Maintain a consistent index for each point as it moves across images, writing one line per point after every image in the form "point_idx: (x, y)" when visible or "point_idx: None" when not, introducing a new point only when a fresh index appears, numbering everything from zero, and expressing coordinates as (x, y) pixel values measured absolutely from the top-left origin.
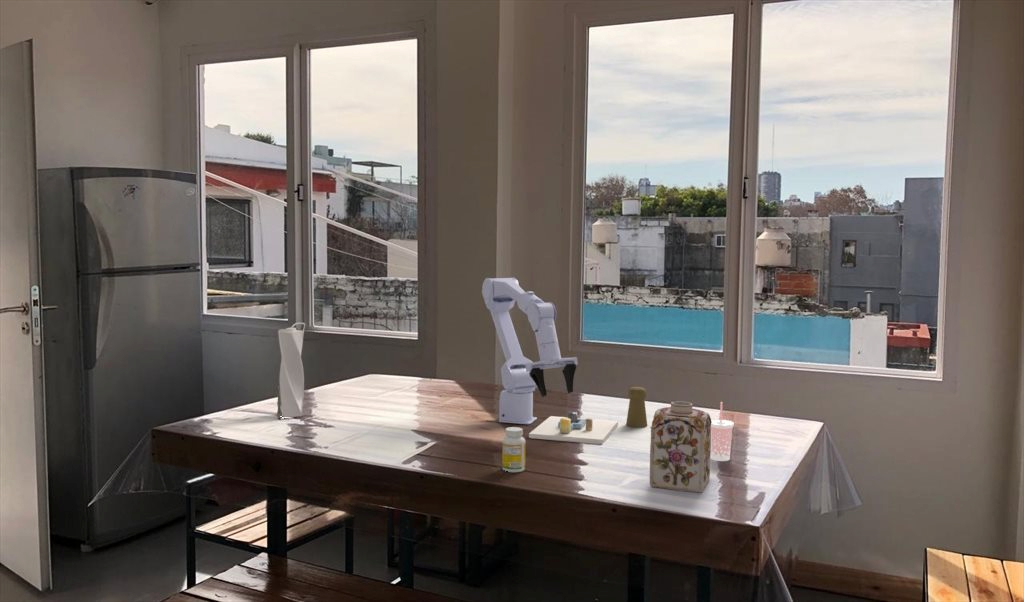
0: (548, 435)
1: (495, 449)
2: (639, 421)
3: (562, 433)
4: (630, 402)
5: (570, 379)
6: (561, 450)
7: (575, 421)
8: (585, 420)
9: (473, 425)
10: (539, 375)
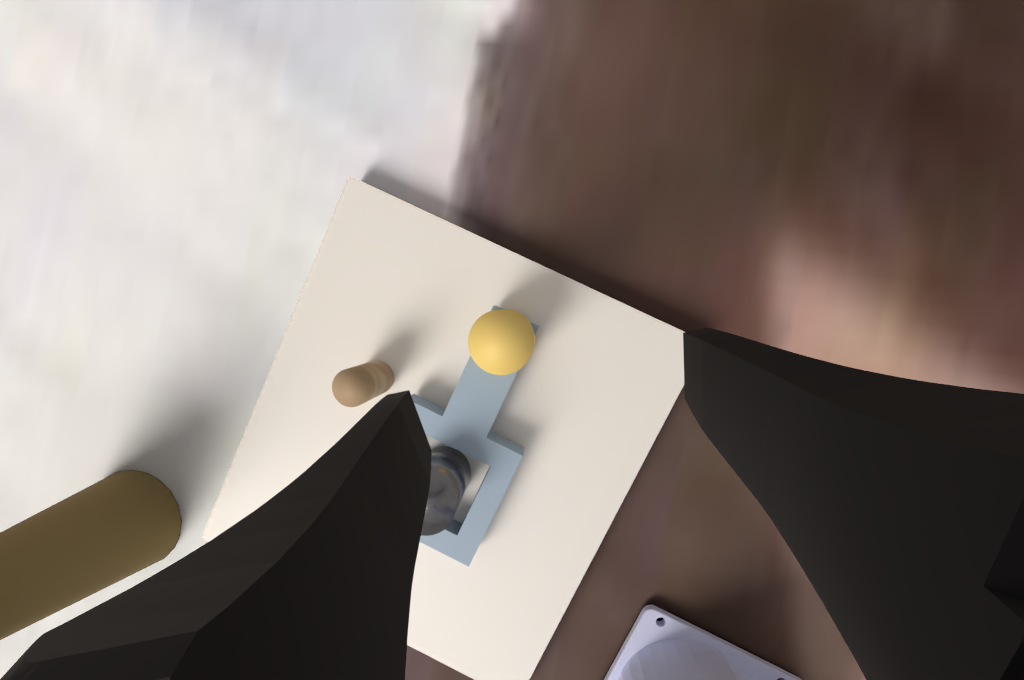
0: (606, 295)
1: (919, 129)
2: (101, 486)
3: None
4: (26, 586)
5: (348, 461)
6: (578, 84)
7: None
8: None
9: None
10: (990, 401)
